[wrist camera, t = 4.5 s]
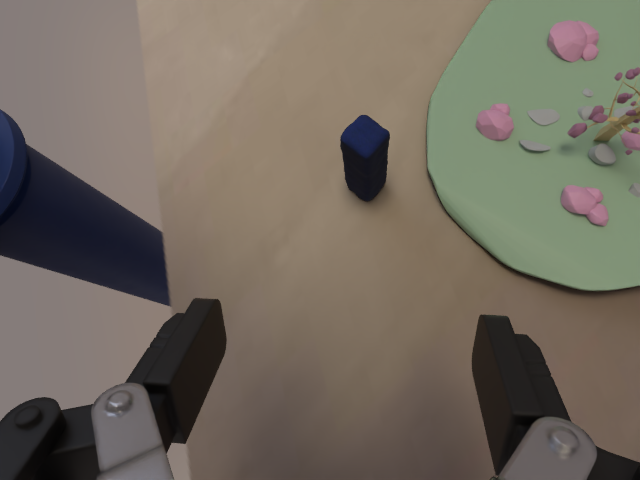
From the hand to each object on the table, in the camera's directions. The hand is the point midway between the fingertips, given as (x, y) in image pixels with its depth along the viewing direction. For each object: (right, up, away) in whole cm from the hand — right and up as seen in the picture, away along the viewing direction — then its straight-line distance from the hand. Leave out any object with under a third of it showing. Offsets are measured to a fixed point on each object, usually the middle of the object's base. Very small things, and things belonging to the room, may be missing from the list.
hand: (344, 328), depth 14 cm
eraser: (+2, +6, +16) cm, 18 cm away
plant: (+17, +11, +16) cm, 26 cm away
